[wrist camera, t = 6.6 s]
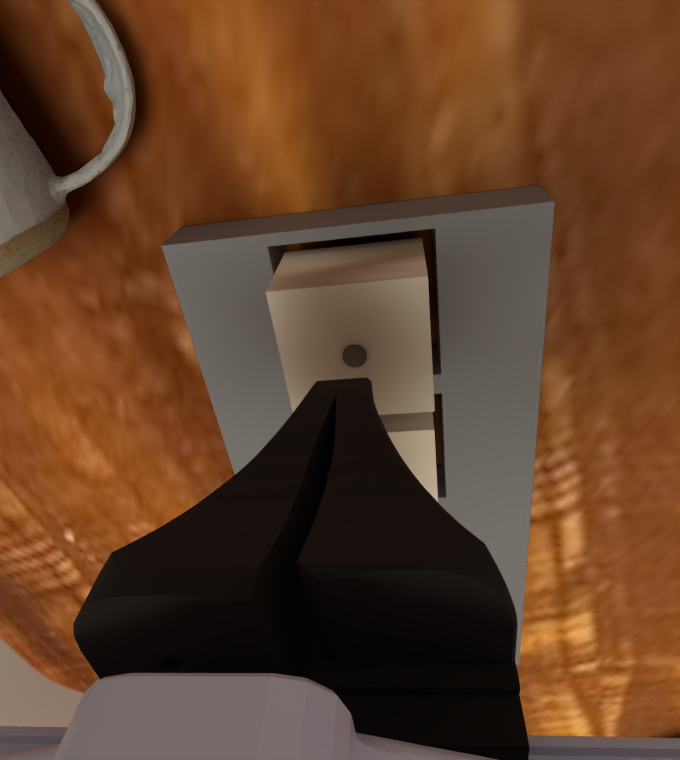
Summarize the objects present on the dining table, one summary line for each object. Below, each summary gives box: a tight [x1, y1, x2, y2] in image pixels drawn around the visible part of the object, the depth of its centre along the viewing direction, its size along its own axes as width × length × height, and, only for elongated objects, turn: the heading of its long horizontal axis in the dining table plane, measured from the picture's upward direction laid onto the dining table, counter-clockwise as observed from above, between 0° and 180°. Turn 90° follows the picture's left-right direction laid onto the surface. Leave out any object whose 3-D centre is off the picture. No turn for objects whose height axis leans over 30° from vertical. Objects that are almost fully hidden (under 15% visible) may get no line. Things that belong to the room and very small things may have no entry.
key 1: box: [266, 238, 435, 415], centre depth 17 cm, size 4×4×3 cm
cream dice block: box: [379, 412, 438, 502], centre depth 21 cm, size 4×4×3 cm
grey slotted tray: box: [162, 185, 555, 665], centre depth 23 cm, size 12×24×2 cm, turn 8°
